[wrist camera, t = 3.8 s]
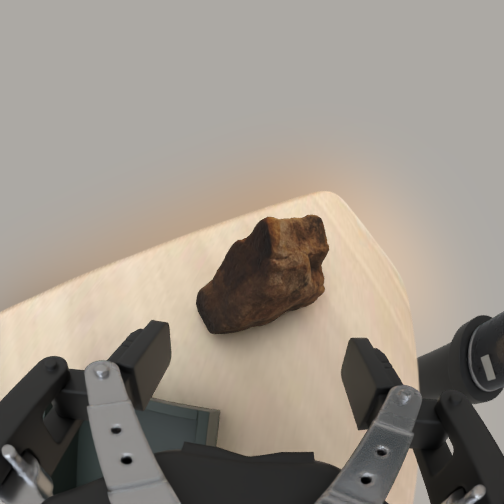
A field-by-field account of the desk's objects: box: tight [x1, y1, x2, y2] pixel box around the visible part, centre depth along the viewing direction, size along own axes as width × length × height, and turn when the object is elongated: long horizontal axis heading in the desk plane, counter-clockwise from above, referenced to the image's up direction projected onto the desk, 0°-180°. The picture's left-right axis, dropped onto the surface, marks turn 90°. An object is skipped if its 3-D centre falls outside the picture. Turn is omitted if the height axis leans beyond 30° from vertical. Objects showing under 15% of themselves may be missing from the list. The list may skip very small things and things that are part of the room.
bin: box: [43, 397, 220, 495], centre depth 14 cm, size 15×18×7 cm
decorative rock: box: [196, 215, 329, 334], centre depth 23 cm, size 12×6×11 cm, turn 110°
